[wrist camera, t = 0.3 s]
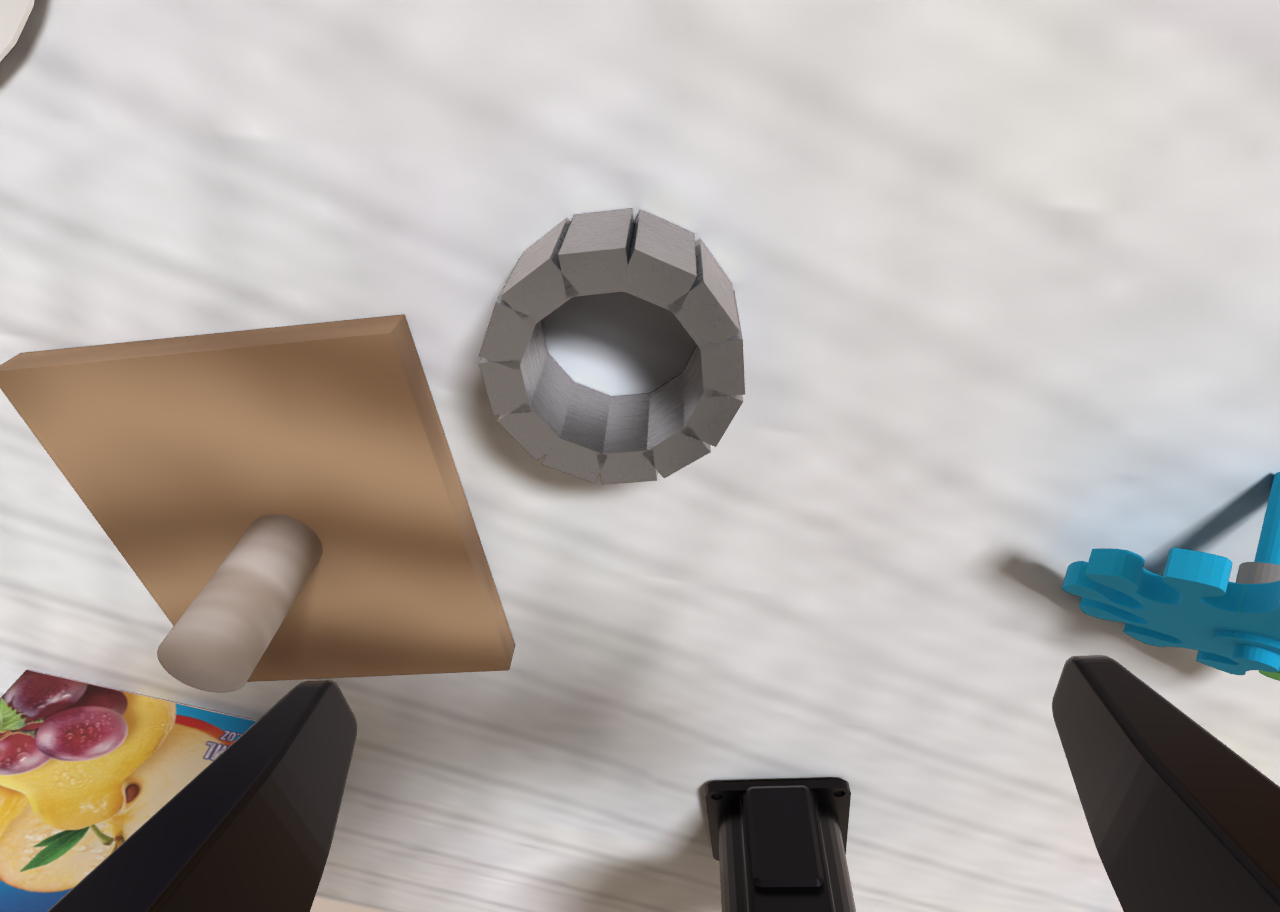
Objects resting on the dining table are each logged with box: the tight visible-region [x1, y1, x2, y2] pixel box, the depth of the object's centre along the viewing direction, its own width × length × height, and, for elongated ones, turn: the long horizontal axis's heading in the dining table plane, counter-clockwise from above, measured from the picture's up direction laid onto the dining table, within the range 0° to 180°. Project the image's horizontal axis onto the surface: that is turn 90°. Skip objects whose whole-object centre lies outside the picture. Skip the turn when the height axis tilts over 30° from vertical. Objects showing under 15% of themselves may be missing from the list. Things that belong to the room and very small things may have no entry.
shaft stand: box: [0, 314, 515, 693], centre depth 22 cm, size 14×12×6 cm
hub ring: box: [479, 208, 745, 484], centre depth 19 cm, size 6×6×3 cm
